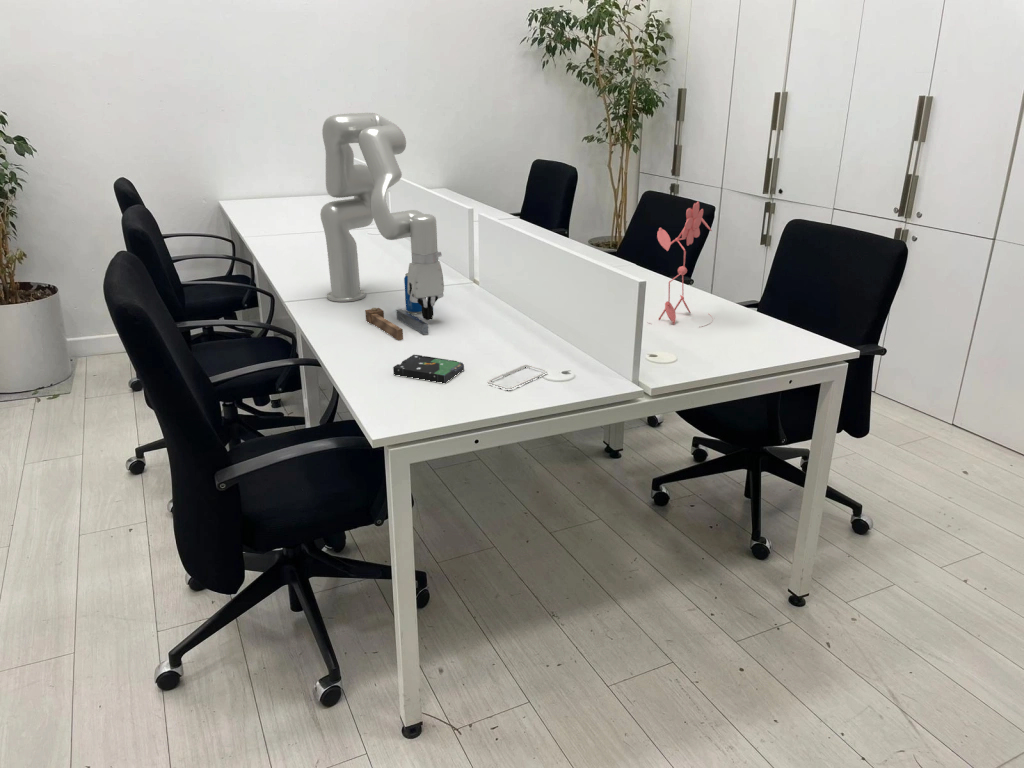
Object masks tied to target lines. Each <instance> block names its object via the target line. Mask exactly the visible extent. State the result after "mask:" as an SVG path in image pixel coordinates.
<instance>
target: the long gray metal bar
mask: <svg viewBox="0 0 1024 768" xmlns="http://www.w3.org/2000/svg"><path fill="white" fill-rule="evenodd" d="M395 310H396V311H395V312H396V320H398V321H399V322H401V323H403V324H404V325H406V326H408V327H410V328H412V329H413V330H415V331H417V332H419V333H420V334H421V335H428V334H429V323H428V322H426V321H424V320H422V319H421V318H419V317H417V316H415V315H414V314H412V313H409V312H408V311H407V310H404V309H403V308H398V309H395Z"/></svg>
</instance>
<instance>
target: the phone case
mask: <svg viewBox="0 0 1024 768" xmlns="http://www.w3.org/2000/svg"><path fill="white" fill-rule="evenodd" d="M525 367H527V368H525ZM523 368H524V369H528V368H529V369H530V368H533V369H536V370H540V371H543V372H541V373H539V374H536V375H534V376H533V377H529V378H528V379H526V380H524V381H521V382H519V383H517V384H514V385H513V386H509V387H507V386H505V385H501V384H499V383H496V382H495V383H494V382H493V381H495V380H497V379H499V378H505V377H504V376H506V375H508V374H510V375H512V374H511V373H513V372H515V371H517V372H519V371H521V370H520V369H522V370H524V369H523ZM518 370H519V371H518ZM515 373H516V372H515ZM545 373H547V374H548V370H546V369H544V368H541V367H537V366H533V365H530V364H523V365H520V366H518V367H516V368H513V369H511V370H509V371H506V372H504V373H502V374H500V375H497V376H494V377H493V378H490V379H488V380H487V381H486V384H487V383H488V384H492V385H495V386H498V387H502V388H505V389H512V388H514V387H516V386H519V385H522V384H524V383H526V382H528V381H531V380H533V379H535V378H538V377H540V376H542V375H543V374H545ZM513 374H514V373H513ZM502 376H503V377H502ZM508 376H509V375H508ZM506 377H507V376H506ZM538 379H539V378H538ZM491 381H492V382H491Z"/></svg>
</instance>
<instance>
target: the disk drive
mask: <svg viewBox="0 0 1024 768" xmlns="http://www.w3.org/2000/svg"><path fill="white" fill-rule="evenodd" d="M392 369H393V371H392V372H393V375H394V374H395V375H394V376H396V375H400V376H399V377H401V376H407V377H406V378H408V377H413V378H412V379H414V378H419V379H418V380H420V379H425V380H424V381H426V380H430V381H429V382H432V381H436V382H435V383H437V382H442V383H441V384H443V383H446V382H447V381H448V380H450V379H451V378H452V377H454V376H455V375H457V374H458V373H459V372H461V371H462V370H464V371H465V364H464V363H463V362H461V361H458V360H454V359H452V360H450V359H445V358H438V357H433V356H427V355H420V354H412V355H410V356H409V357H407V358H406V359H403V360H402V361H401V363H399V364H396V365H394V366H393V367H392ZM462 372H463V371H462ZM462 372H461V373H462ZM459 374H460V373H459ZM459 374H458V375H459ZM458 375H457V376H458ZM455 377H456V376H455ZM455 377H454V378H455ZM452 379H453V378H452ZM452 379H451V380H452ZM451 380H450V381H451ZM448 382H449V381H448ZM448 382H447V383H448ZM447 383H446V384H447Z"/></svg>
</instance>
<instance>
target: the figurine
mask: <svg viewBox="0 0 1024 768" xmlns="http://www.w3.org/2000/svg"><path fill="white" fill-rule="evenodd" d="M703 216H704V208H701V209H700V201H699V200H698V201H696V202H694V203H693V205H692V207H688V208H687V209H686V212H685V217H686V220H685V221H686V222H685V224H684V227H683V228H682V230H681V232H680V233H679V235H678V236H677V237H675V239H673V240H672V241H671V237H670V235H669V234H668V232H667V231H666V230H665V229H663V228H662V227H659V228H658V230H657V233H656V234H657V235H656V239H657V241H658V243H659V245H660V246H661V247H662V249H664V250H666V252H668V251H669V250H670V248H671V245H673V244H674V243H675V242H677V243H678V245H679V246H680V247H681V249H682V250H683V265H682V266H679V267H678V268H677V275H676V276H675V277H673V278H672V279H670V280H669V281H668V301H665V303H664V310H662V312H661V314H660V316H659V317H658V320H659V321H660V320H661V319H662V317H663V316H664V315H665V313H666V315H667V317H668V319H669V320H670V322H671V323H672V324H673V325H675V323H676V319H677V317H676V310H677V309H678V307H679V305H680V304H681V302H683V304H684V306H685V308H686V310H687V311H688V313H689V314H692V313H691V310H690V309H689V306H688V304H687V303H686V300H685V297H684V276H685V275H686V274H687V273H688V269H687V267H686V258H687V257H686V255H687V251H686V249H685V247H684V246H683V245H682V243H681V242H680V241H683V240H686V246H687V247H688V246H690V245H692V244H693V243H694V238H696V239H697V238H699V237H700V235H701V230H700V226H701V224H703V225H704V226H705V227H706V229H708V230H709V231H710V232H712V229H711V227H710V226H709V225H708V223H707V222H706V221H705V219H704V218H703ZM679 276H681V283H682V285H681V287H682V290H681V291H682V293H681V294H682V295H681V294H679V295H680V296H679V297H680V299H679V301H678V302H677V303H676V305H675V306H673V304H672V303H671V301H670V299H671V297H670V296H671V294H670V293H671V283H672V282H673V281H674V280H675V279H677V278H678V277H679ZM709 316H710V317H711V319H712V320H713V316H712V315H711V314H709ZM646 323H647V324H649V325H652V323H650V322H648V321H647V322H646ZM708 325H710V323H707V324H706V325H701V326H700V328H702V327H705V326H708Z"/></svg>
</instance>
